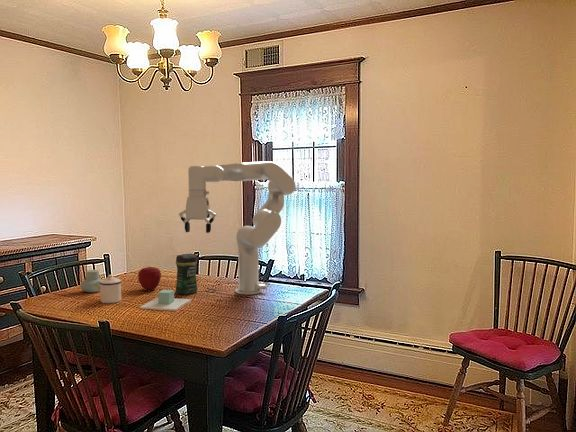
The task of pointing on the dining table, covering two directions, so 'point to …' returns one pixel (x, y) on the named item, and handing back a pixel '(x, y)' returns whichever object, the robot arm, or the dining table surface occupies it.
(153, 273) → the apple
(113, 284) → the teacup with lid
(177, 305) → the tile
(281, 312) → the dining table surface
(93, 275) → the air freshener
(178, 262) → the coffee jar
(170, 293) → the block
